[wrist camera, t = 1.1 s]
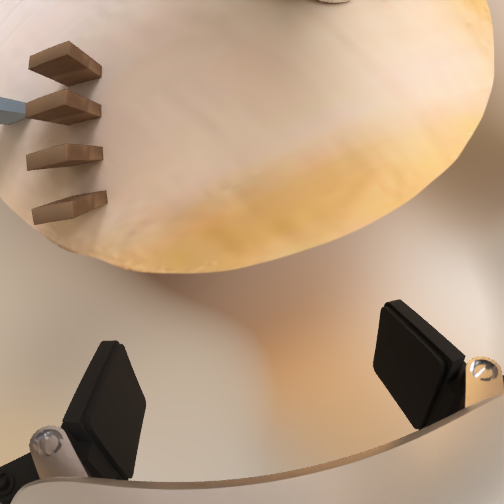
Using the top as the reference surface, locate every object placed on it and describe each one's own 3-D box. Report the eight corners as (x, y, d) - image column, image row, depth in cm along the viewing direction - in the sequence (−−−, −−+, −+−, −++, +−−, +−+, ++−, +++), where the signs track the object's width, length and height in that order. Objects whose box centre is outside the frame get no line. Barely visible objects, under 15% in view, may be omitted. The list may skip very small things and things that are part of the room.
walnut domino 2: (67, 113, 29) (25, 103, 19) (101, 105, 29) (64, 89, 20) (67, 125, 29) (25, 117, 20) (101, 116, 30) (64, 104, 20)
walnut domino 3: (68, 154, 31) (26, 155, 21) (102, 146, 31) (65, 143, 22) (69, 166, 31) (27, 170, 22) (103, 159, 32) (66, 160, 22)
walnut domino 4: (72, 196, 32) (31, 209, 23) (106, 190, 33) (70, 201, 23) (74, 208, 33) (34, 224, 23) (107, 202, 33) (72, 218, 24)
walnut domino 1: (68, 75, 27) (29, 56, 18) (101, 66, 28) (68, 40, 18) (68, 86, 28) (28, 69, 18) (101, 77, 28) (67, 53, 19)
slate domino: (8, 114, 27) (-35, 109, 18) (33, 104, 27) (-10, 95, 18) (8, 124, 27) (-36, 122, 18) (33, 115, 28) (-11, 108, 18)
